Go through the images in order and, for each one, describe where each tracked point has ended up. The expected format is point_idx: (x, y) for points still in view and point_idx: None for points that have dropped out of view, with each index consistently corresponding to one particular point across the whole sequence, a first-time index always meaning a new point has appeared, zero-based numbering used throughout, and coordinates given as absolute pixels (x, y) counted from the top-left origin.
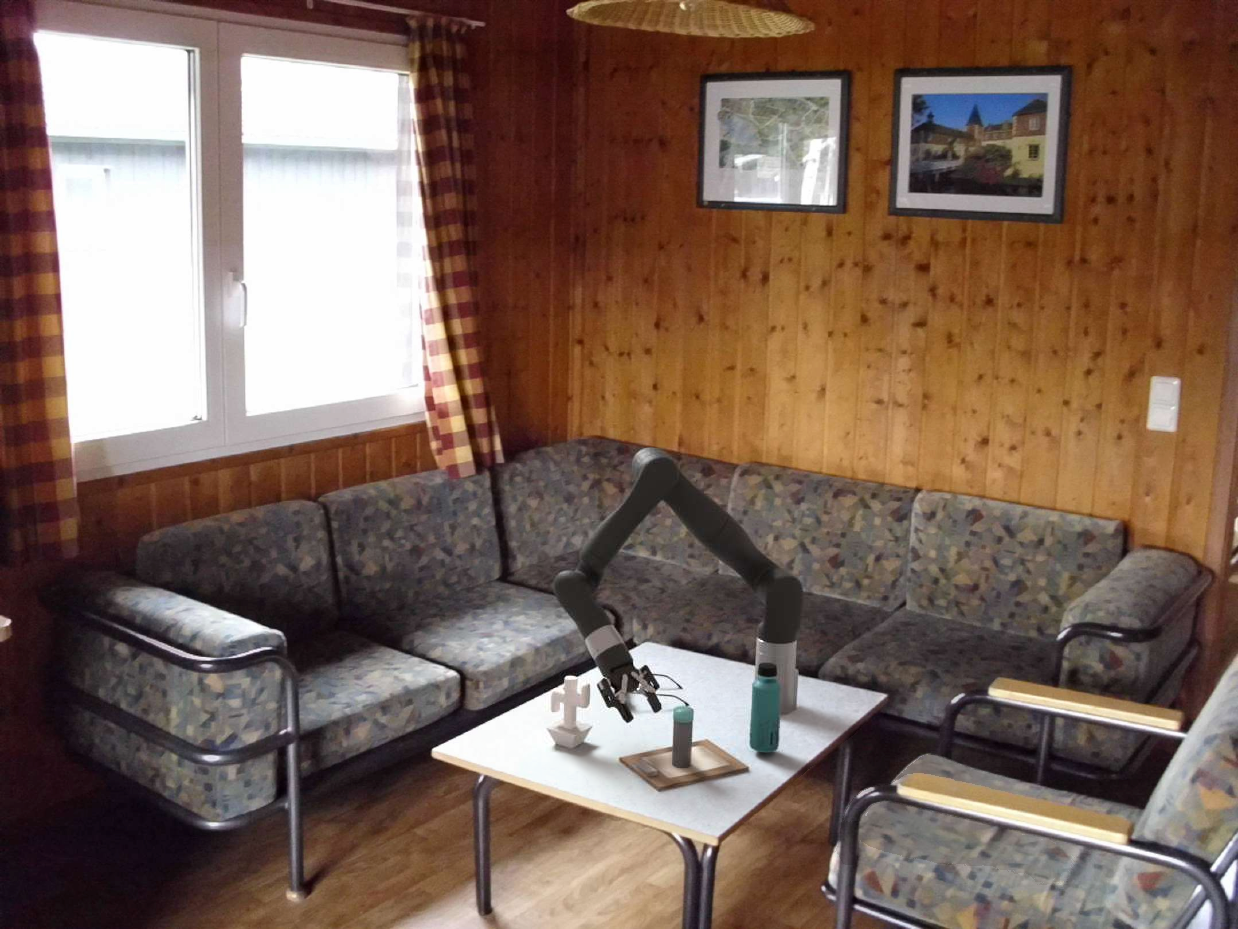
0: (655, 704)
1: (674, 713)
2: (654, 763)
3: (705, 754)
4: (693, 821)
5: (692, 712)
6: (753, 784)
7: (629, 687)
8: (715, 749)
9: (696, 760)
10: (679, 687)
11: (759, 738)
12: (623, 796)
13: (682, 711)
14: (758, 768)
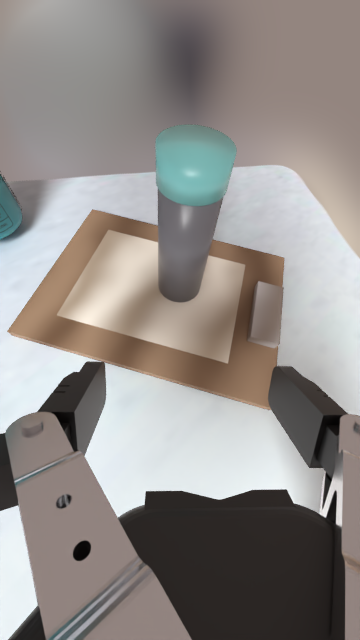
0: (95, 388)
1: (232, 165)
2: (223, 323)
3: (99, 281)
4: (292, 190)
5: (186, 125)
6: (135, 192)
7: (269, 516)
8: (57, 283)
9: (140, 275)
10: None
11: (7, 189)
12: (349, 287)
13: (211, 141)
14: (73, 211)
